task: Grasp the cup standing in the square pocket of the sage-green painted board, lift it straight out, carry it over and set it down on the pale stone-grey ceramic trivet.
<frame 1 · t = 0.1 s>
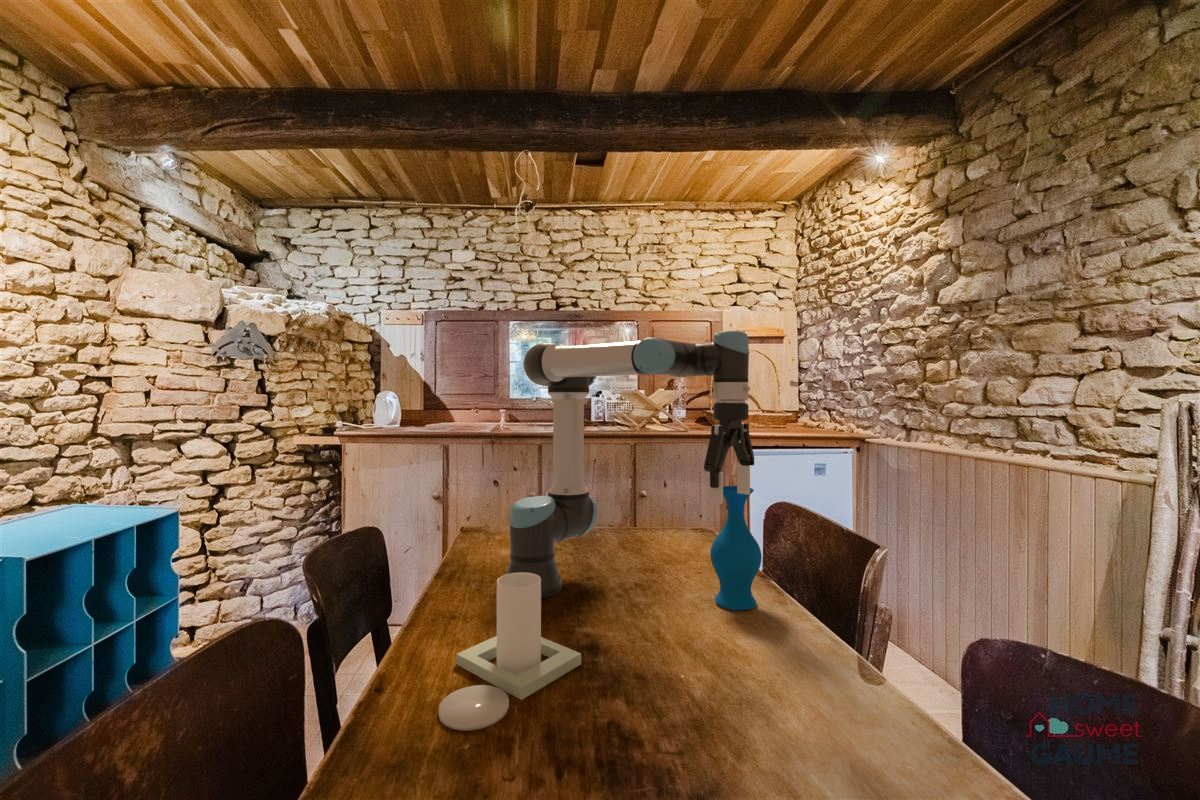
hand: (730, 498, 115), 28 cm above the table, fingers open, 13 cm apart
vase: (735, 604, 127), on the table
pocket board: (518, 664, 98), on the table
trivet: (474, 708, 84), on the table
cup: (518, 665, 98), resting in pocket board
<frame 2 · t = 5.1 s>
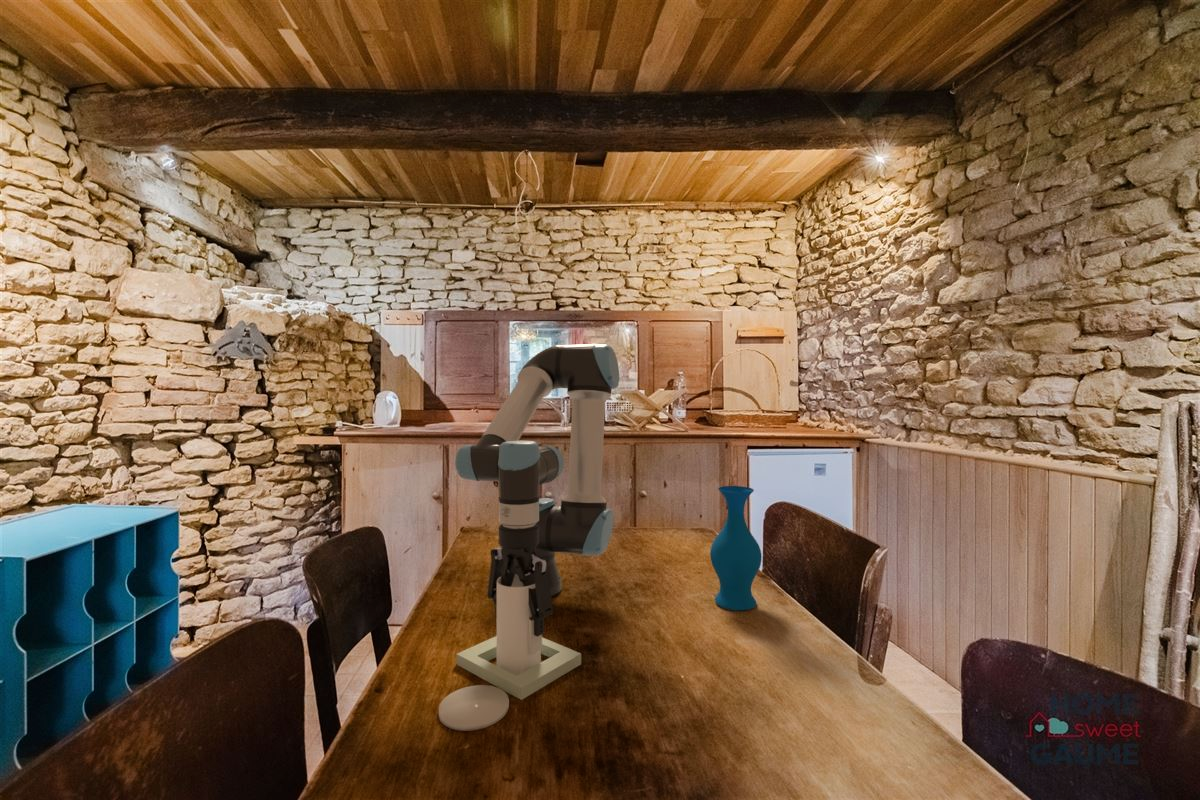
hand: (518, 644, 98), 4 cm above the table, fingers closed on cup, 8 cm apart
cup: (518, 665, 98), resting in pocket board, touching gripper
everything else where it was.
when the fingers open (6 cm above the table, at t = 9.8 s): cup drops 2 cm, resting on trivet.
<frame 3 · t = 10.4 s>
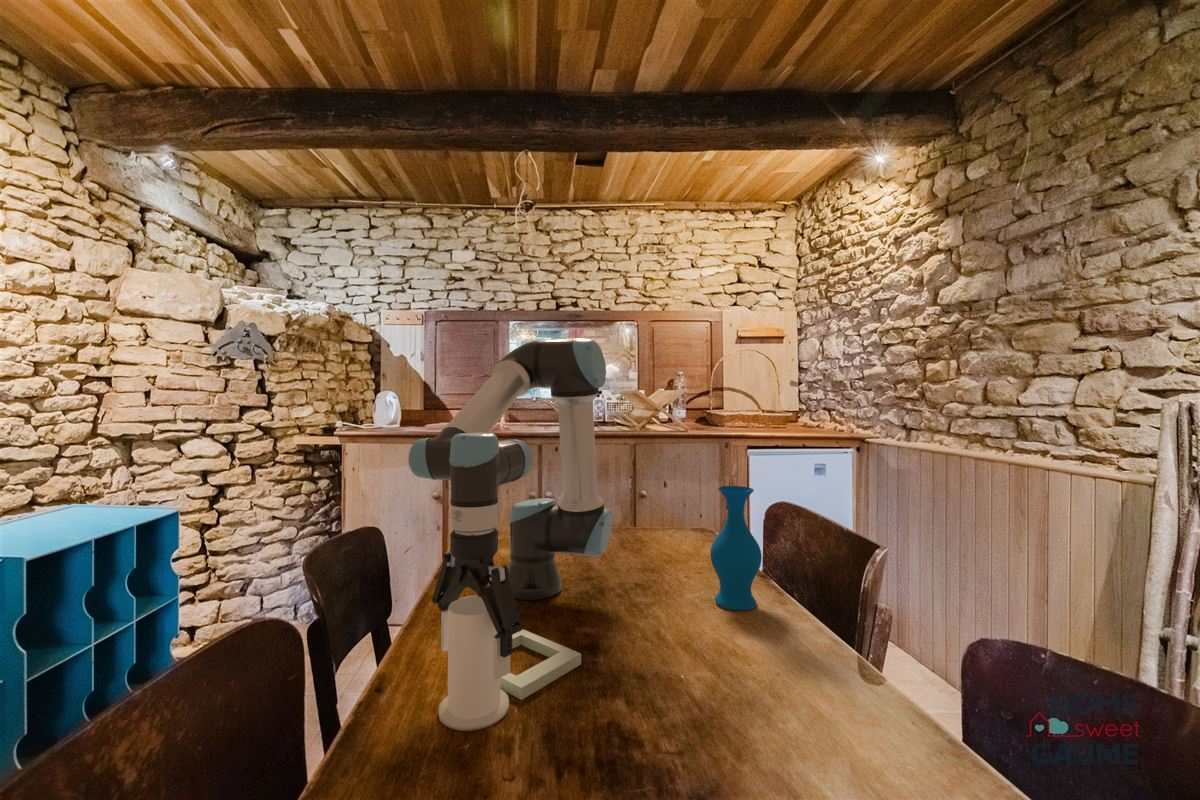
hand: (474, 661, 84), 8 cm above the table, fingers open, 13 cm apart
cup: (474, 704, 84), point 1 cm above the table, touching trivet
everything else where it was.
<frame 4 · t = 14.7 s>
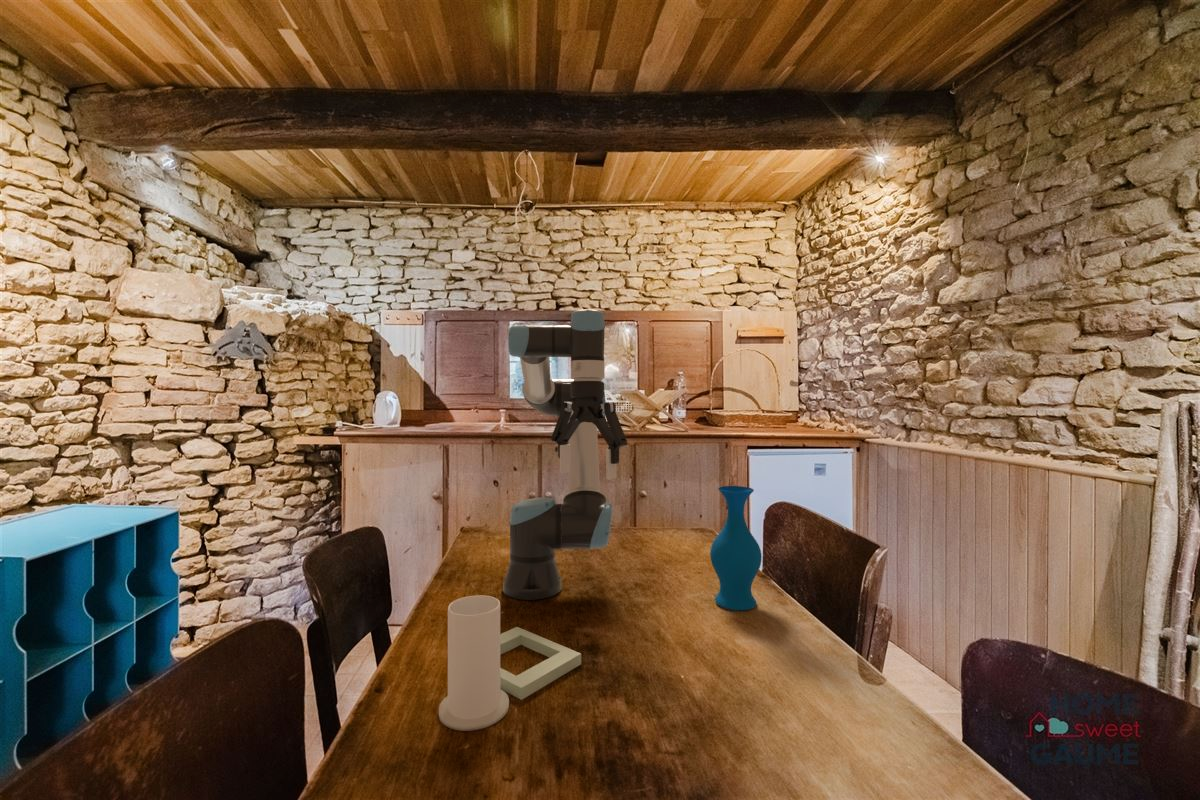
hand: (587, 475, 116), 33 cm above the table, fingers open, 13 cm apart
nothing on the table moved.
at the end: cup 0.0 cm from the trivet (horizontally); cup touching trivet; cup tilted 0° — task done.
